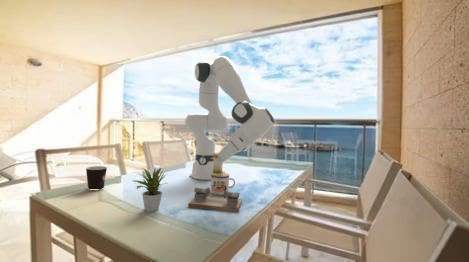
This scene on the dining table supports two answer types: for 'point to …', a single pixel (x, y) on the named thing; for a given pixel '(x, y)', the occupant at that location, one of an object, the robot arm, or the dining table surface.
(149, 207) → the house plant
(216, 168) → the brass door knob
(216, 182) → the teacup with lid
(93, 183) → the coffee mug
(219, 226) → the dining table surface
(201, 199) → the shaft rig
